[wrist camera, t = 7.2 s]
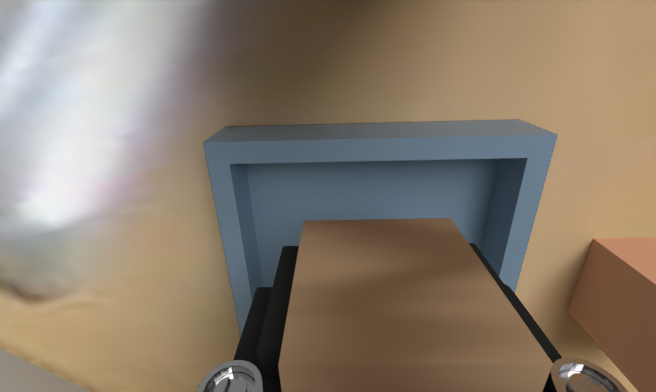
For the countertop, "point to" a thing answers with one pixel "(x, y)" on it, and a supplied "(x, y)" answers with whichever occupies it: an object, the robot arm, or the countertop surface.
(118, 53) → the countertop surface
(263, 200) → the tray
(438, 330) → the walnut block
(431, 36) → the countertop surface
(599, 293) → the terracotta block
